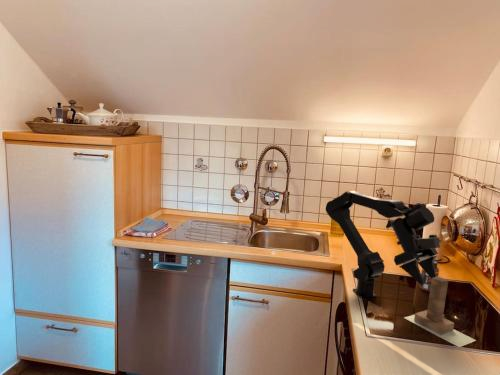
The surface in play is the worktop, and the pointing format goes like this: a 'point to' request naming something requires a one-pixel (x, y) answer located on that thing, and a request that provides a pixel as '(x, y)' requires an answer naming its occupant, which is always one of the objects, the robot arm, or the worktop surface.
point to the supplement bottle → (428, 278)
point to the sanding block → (436, 308)
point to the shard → (375, 309)
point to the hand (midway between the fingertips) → (428, 281)
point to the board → (447, 335)
